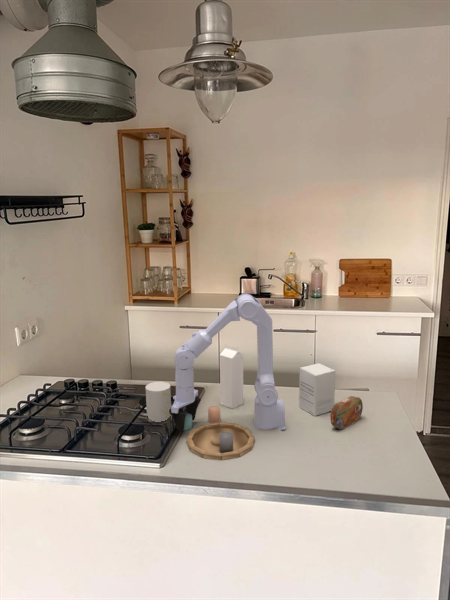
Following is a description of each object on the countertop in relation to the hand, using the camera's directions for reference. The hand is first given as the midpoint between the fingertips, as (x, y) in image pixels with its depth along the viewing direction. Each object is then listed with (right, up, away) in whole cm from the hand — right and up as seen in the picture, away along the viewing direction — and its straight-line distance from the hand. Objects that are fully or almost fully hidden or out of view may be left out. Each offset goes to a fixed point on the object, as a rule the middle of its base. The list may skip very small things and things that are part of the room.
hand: (185, 424), depth 150 cm
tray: (+11, -4, -9) cm, 15 cm away
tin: (+52, -1, +4) cm, 52 cm away
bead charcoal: (+13, -4, -14) cm, 20 cm away
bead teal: (0, -2, 0) cm, 2 cm away
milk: (+15, +2, +19) cm, 25 cm away
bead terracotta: (+9, -1, +5) cm, 10 cm away
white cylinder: (-10, -1, +8) cm, 12 cm away
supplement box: (+45, +1, +15) cm, 47 cm away
